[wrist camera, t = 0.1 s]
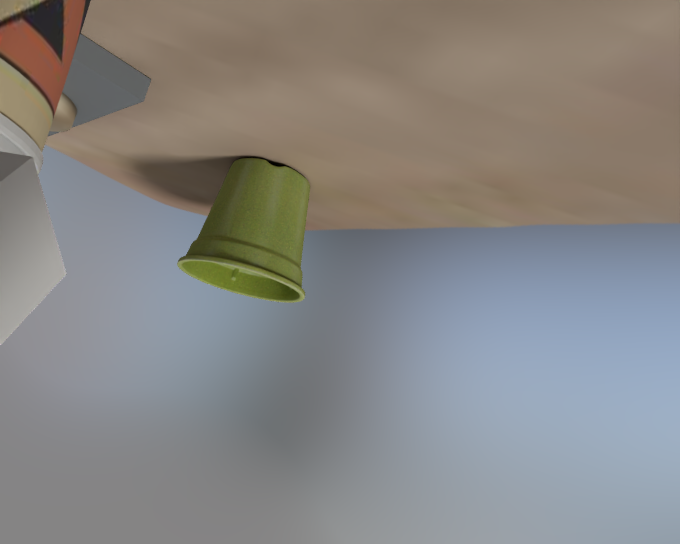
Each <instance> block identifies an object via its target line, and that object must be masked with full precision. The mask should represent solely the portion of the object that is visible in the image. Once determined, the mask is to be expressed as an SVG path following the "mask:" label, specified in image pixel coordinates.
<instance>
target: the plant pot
mask: <svg viewBox="0 0 680 544" xmlns="http://www.w3.org/2000/svg"><path fill="white" fill-rule="evenodd" d="M309 193H310V184H309V182H308V181H307V179H306V178H305V177H303V176H302V175H301V174H299V173H298V172H296V171H295V170H293V169H291V168H289V167H286V166H282V167H277V166H274V165H271V164H270V163H268V162H267V161H266V160H264V159H259V158H243V159H238V160H236V161H234V162H233V164H232V166H231V167H230V169H229V171H228V174H227V176H226V178H225V180H224V183H223V185H222V187H221V189H220V191H219V193H218V196H217V198H216V200H215V202H214V204H213V206H212V208H211V211H210V213H209V215H208V217H207V219H206V221H205V223H204V225H203V228H202V230H201V232H200V234H199V236H198V238H197V240H195V241H194V242H193V243H192V244H191V246H190V249H189V251H188V252H187V254H186V256H184V257H181V258H180V259H179V261H178V263H177V265H178V267H179V268H180V269H181V270H182V271H184V272H185V273H186V274H188V275H189V276H191V277H193V278H196V279H198V280H200V281H202V282H204V283H207V284H210V285H212V286H215V287H218V288H221V289H224V290H227V291H230V292H234V293H237V294H241V295H245V296H249V297H254V298H259V299H265V300H270V301H277V302H289V303H291V302H300V301H302V300H304V298H305V292H304V290H303V289H302V288H301V286H302V271H301V267H300V266H301V258H302V250H303V241H304V232H305V224H306V216H307V209H308V201H309Z"/></svg>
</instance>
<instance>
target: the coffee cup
mask: <svg viewBox="0 0 680 544" xmlns="http://www.w3.org/2000/svg"><path fill="white" fill-rule="evenodd" d="M90 1H91V0H0V151H2V152H8V153H13V154H19V155H25V156H31V157H33V160H34V163H35V166H36V170H37V173H38V174H39V172H40V170H41V167H42V164H43V155H42V150H43V148H44V145H45V142H46V139H47V136H48V133H49V130H50V127H51V124H52V121H53V118H54V115H55V112H56V109H57V106H58V103H59V100H60V97H61V94H62V91H63V88H64V85H65V82H66V79H67V75H68V72H69V69H70V66H71V62H72V59H73V56H74V53H75V49H76V46H77V43H78V40H79V36H80V33H81V30H82V27H83V23H84V20H85V17H86V14H87V10H88V7H89V4H90Z"/></svg>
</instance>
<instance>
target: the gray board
mask: <svg viewBox="0 0 680 544" xmlns="http://www.w3.org/2000/svg"><path fill="white" fill-rule="evenodd" d="M150 82H151V79H149V78H148V77H146V76H145V75H143V74H142V73H140V72H139V71H137V70H136V69H134V68H133V67H131V66H129V65H128V64H126V63H125V62H123V61H122V60H120V59H119V58H117V57H116V56H114V55H113V54H111V53H109V52H108V51H106V50H105V49H103V48H102V47H100V46H99V45H97V44H96V43H94V42H93V41H91V40H89V39H88V38H86V37H85V36H83V35H82V34H80V36H79V40H78V43H77V46H76V49H75V53H74V56H73V59H72V62H71V66H70V69H69V72H68V75H67V79H66V82H65V85H64V88H63V91H62V92H63V93H64V94H65V95H66V96H68V97H69V98H70V99H71V100H72V102H73V103H74V104H75V106H76V108H77V115H76V117H75V120H74V122H73V125H72V127H75V126H78V125H80V124H83V123H86V122H89V121H91V120H94V119H97V118H99V117H102V116H105V115H108V114H110V113H113V112H116V111H118V110H121V109H124V108H127V107H129V106H132V105H135V104H138V103H140V102H143V101H144V99H145V96H146V93H147V90H148V87H149V85H150ZM56 133H59V132H52V131H49V133H48V136H50V135H53V134H56ZM48 136H47V137H48Z"/></svg>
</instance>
